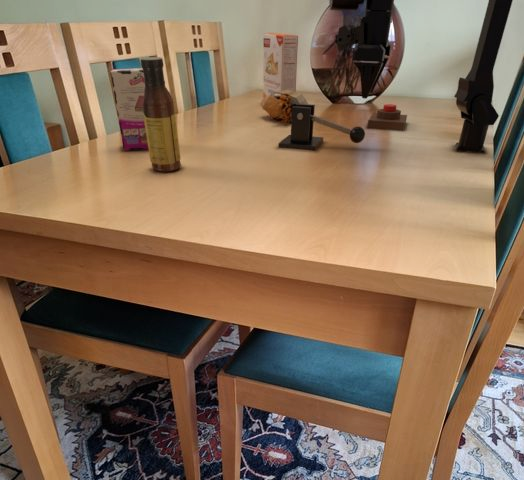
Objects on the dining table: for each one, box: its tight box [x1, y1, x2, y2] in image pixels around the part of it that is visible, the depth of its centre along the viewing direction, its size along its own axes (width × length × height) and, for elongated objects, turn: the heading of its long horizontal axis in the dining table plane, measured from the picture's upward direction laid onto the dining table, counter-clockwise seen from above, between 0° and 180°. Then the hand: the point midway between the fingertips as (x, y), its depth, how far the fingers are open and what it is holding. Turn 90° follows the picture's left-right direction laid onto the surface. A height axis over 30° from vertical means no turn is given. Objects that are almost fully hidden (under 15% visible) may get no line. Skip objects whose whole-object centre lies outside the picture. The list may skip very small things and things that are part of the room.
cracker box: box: [262, 32, 299, 100], centre depth 153 cm, size 14×6×21 cm, turn 25°
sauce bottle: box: [140, 56, 181, 173], centre depth 91 cm, size 7×6×20 cm
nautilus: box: [260, 89, 309, 126], centre depth 137 cm, size 8×22×15 cm
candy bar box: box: [109, 67, 149, 152], centre depth 107 cm, size 11×5×16 cm, turn 105°
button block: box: [366, 108, 408, 132], centre depth 134 cm, size 12×10×4 cm
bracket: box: [278, 103, 324, 152], centre depth 112 cm, size 9×10×9 cm
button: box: [382, 103, 397, 112], centre depth 132 cm, size 4×4×2 cm
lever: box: [300, 106, 366, 144], centre depth 110 cm, size 17×4×4 cm, turn 72°
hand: (367, 95), depth 106 cm, fingers open, 9 cm apart
